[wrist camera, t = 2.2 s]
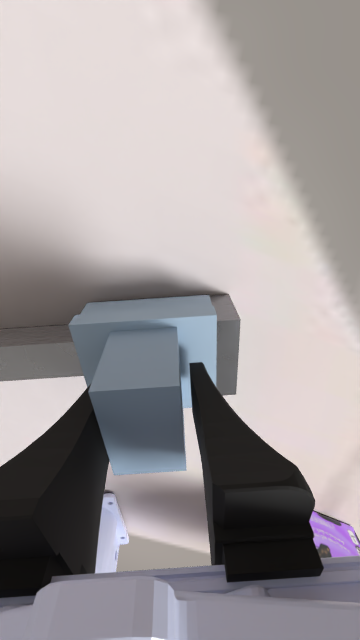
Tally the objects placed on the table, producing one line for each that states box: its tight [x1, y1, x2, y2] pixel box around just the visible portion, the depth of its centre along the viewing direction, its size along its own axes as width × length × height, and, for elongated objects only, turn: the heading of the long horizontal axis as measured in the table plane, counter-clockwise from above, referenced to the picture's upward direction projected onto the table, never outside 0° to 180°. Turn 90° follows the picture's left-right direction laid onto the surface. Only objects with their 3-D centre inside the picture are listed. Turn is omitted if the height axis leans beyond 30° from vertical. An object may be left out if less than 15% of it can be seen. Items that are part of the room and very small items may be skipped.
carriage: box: [68, 295, 217, 475], centre depth 14 cm, size 6×7×7 cm
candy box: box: [309, 511, 360, 558], centre depth 22 cm, size 14×6×16 cm, turn 56°
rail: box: [0, 294, 240, 395], centre depth 16 cm, size 5×21×3 cm, turn 93°
